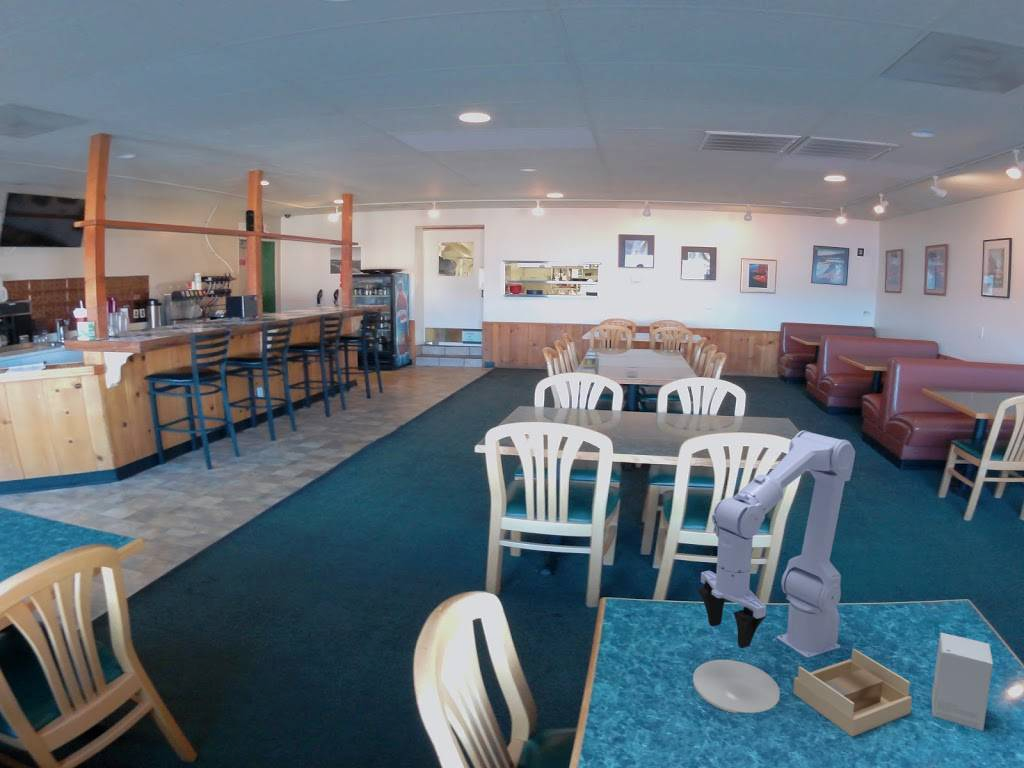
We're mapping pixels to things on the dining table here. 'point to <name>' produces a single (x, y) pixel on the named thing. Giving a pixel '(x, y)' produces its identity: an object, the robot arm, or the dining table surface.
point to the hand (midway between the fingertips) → (729, 635)
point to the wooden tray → (842, 709)
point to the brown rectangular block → (858, 688)
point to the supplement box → (962, 680)
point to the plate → (735, 686)
